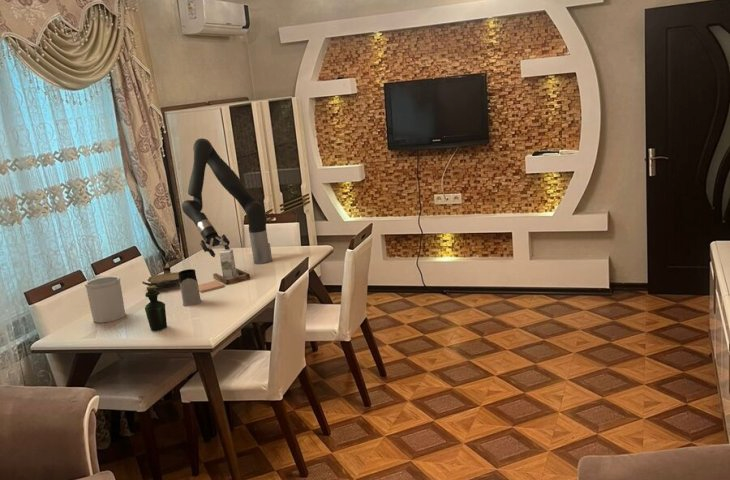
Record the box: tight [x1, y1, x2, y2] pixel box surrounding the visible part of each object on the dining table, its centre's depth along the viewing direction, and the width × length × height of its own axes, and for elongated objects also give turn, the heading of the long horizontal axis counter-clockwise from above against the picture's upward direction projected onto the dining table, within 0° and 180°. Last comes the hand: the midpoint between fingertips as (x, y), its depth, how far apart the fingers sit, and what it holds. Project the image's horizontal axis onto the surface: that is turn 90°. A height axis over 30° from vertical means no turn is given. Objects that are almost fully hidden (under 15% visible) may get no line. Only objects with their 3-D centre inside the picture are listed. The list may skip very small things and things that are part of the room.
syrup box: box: [218, 248, 238, 279], centre depth 361 cm, size 6×6×14 cm
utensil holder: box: [84, 275, 126, 324], centre depth 318 cm, size 15×15×18 cm
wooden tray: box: [212, 268, 251, 286], centre depth 361 cm, size 13×18×2 cm
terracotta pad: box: [198, 279, 226, 294], centre depth 350 cm, size 12×12×1 cm
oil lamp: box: [141, 262, 180, 289], centre depth 364 cm, size 22×30×8 cm
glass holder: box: [178, 268, 203, 307], centre depth 328 cm, size 9×14×15 cm, turn 15°
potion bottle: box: [144, 285, 168, 332], centre depth 294 cm, size 8×8×18 cm
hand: (221, 254), depth 363 cm, fingers open, 8 cm apart
